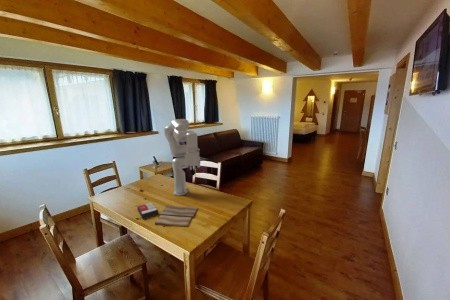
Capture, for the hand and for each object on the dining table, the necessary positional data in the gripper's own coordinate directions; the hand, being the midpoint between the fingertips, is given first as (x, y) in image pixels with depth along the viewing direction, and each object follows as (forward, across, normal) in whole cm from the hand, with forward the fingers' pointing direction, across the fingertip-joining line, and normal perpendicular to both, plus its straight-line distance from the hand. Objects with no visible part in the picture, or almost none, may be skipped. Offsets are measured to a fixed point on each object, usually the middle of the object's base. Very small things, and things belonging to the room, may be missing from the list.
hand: (193, 174), depth 153 cm
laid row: (+27, +10, +7) cm, 29 cm away
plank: (+27, +9, +19) cm, 34 cm away
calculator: (+28, +32, +10) cm, 44 cm away
